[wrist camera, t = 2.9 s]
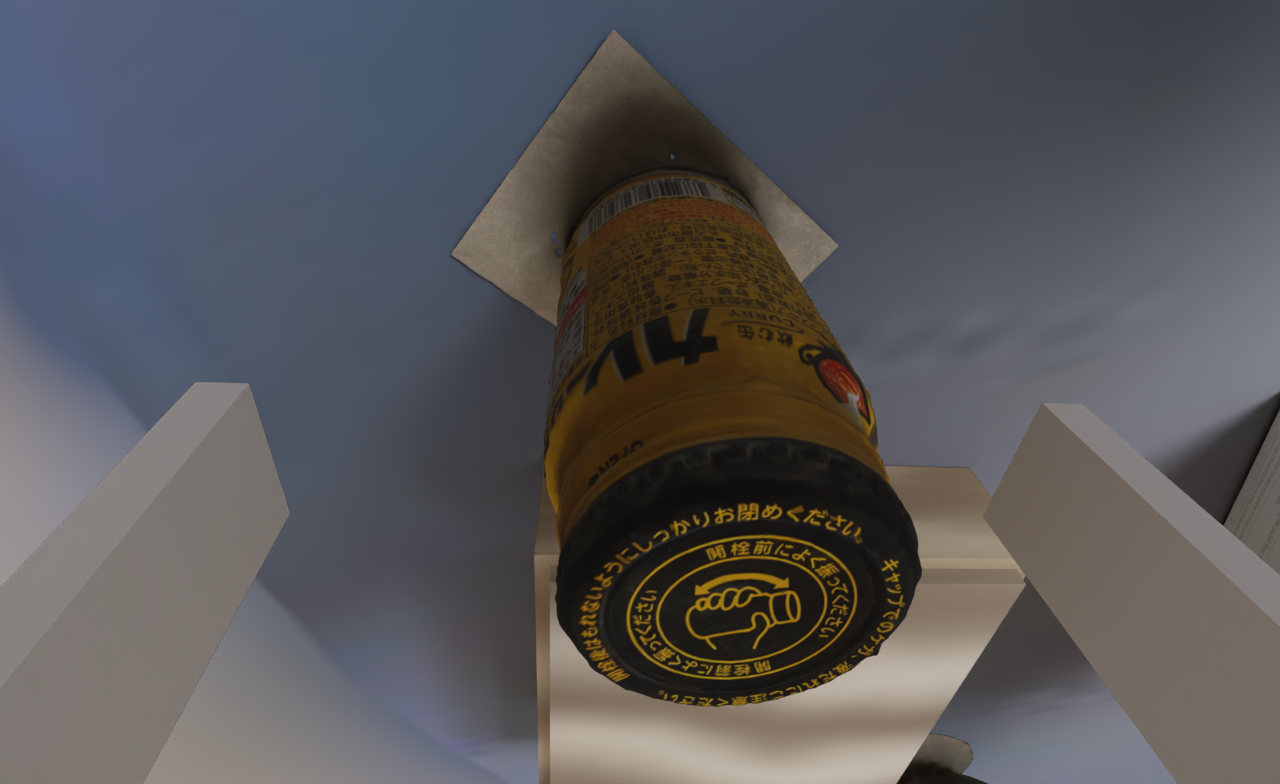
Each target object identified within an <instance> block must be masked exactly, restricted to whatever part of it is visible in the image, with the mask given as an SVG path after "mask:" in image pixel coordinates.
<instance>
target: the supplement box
mask: <svg viewBox="0 0 1280 784" xmlns="http://www.w3.org/2000/svg"><path fill="white" fill-rule="evenodd" d="M1224 527H1225V528H1226V529H1227V530H1228V531H1229V532H1231V533H1232V534H1233V535H1234V536H1235V537H1236V538H1238V539H1239V540H1240V541H1241V542H1242V543H1243V544H1244V545H1246V546H1247V547H1248V548H1249V549H1250V550H1251V551H1253V552H1254V553H1255V554H1256V555H1257V556H1258V557H1259V558H1261V559H1262V560H1263V561H1264V562H1265V563H1266V564H1268V565H1269V566H1270V567H1271V568H1272V569H1273V570H1274V571H1276V572H1277V573H1278V574H1279V575H1280V410H1279V412H1278V414H1277V416H1276V418H1275V420H1274V422H1273V424H1272V426H1271V428H1270V430H1269V433H1268V435H1267V437H1266V439H1265V441H1264V443H1263V445H1262V447H1261V449H1260V451H1259V453H1258V455H1257V457H1256V460H1255V462H1254V464H1253V466H1252V468H1251V470H1250V472H1249V474H1248V476H1247V478H1246V480H1245V482H1244V485H1243V487H1242V489H1241V491H1240V493H1239V495H1238V497H1237V498H1236V500H1235V502H1234V505H1233V507H1232V509H1231V511H1230V513H1229V516H1228V518H1227V520H1226V522H1225V524H1224Z"/></svg>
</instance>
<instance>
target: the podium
mask: <svg viewBox="0 0 1280 784" xmlns="http://www.w3.org/2000/svg"><path fill="white" fill-rule="evenodd" d="M884 467H885V470H886V472H887V474H888V476H889V479H890V484H891V486H892V488H893V489H894V490H895V492H896V493H897V495H898V498H899V499H900V500H901V501H902V503H903V505H904V507H905V509H906V510H907V512H908V513H909V515H910V517H911V518H912V521H913V525H914V527H915V530H916V533H917V537H918V555H919V559H920V563H921V567H922V576H921V579H920V580H919V582H918V584H917V586H916V589H915V594H914V598H913V600H912V603H911V605H910V608H909V610H908V612H907V616H906V618H905V619H904V620H903V622H902V623H901V624H900V625H899V627H898V628H897V629H896V630H895V631H894V632H893V633H892V634H891V635H890V637H889V638H888V639H887V640H885V641H884V642H883V643H882V645H881V648H880V651H879V653H878V655H877V656H871V657H868V658H866V659H864V660H863V661H861V662H860V663H859V664H858V665H857V666H856V667H855V668H853V669H852V670H851V671H849V672H847V673H844V674H843V675H840V676H838V677H836V678H835V679H834V680H832V681H830V682H828V683H826V684H823V685H820V686H819V687H817V688H814V689H808V690H806V691H804V692H801V693H797V694H793V695H790V696H786V697H783V698H780V699H777V700H774V701H766V702H762V703H758V704H752V703H748V704H746V705H740V706H733V705H725V706H720V707H714V706H707V707H703V706H694V705H686V704H677V703H674V702H671V701H663V700H660V699H653V698H650V697H648V696H645V695H642V694H639V693H636V692H633V691H628V690H625V689H623V688H622V687H620V686H619V685H617V684H615V683H613V682H612V681H610V680H609V679H607V678H606V677H605V676H603V675H601V674H599V673H597V672H595V671H594V670H593V669H592V668H591V667H590V666H589V664H588V662H587V660H586V659H585V658H584V657H583V656H582V655H581V654H580V653H579V651H578V650H577V649H576V647H575V645H574V644H573V642H572V641H571V640H570V638H569V637H568V636H567V635H566V634H565V632H564V631H563V629H562V628H561V627H560V625H559V622H558V619H557V612H556V608H557V605H556V601H555V595H556V591H557V584H556V580H555V579H556V576H557V566H558V564H559V563H558V560H559V555H560V550H559V544H558V541H557V537H556V515H557V514H556V512H555V509H554V507H553V505H552V503H551V500H550V497H549V494H548V490H547V488H546V482H545V478H544V464H543V473H542V483H541V493H540V502H539V512H538V522H537V532H536V541H535V551H534V572H535V617H536V662H537V706H538V751H539V784H896V783H897V782H898V780H899V779H900V777H901V776H902V774H903V773H904V771H905V770H906V768H907V767H908V765H909V763H910V762H911V760H912V759H913V757H914V756H915V754H916V753H917V751H918V750H919V748H920V747H921V745H922V744H923V742H924V740H925V739H926V737H927V736H928V734H929V733H930V731H931V730H932V728H933V727H934V725H935V724H936V722H937V721H938V719H939V717H940V716H941V714H942V713H943V711H944V710H945V708H946V707H947V705H948V704H949V702H950V701H951V699H952V698H953V696H954V694H955V693H956V691H957V690H958V688H959V687H960V685H961V684H962V682H963V681H964V679H965V678H966V676H967V675H968V673H969V671H970V670H971V668H972V667H973V665H974V664H975V662H976V661H977V659H978V658H979V656H980V655H981V653H982V652H983V650H984V648H985V647H986V645H987V644H988V642H989V641H990V639H991V638H992V636H993V635H994V633H995V632H996V630H997V629H998V627H999V625H1000V624H1001V622H1002V621H1003V619H1004V618H1005V616H1006V615H1007V613H1008V612H1009V610H1010V609H1011V607H1012V606H1013V604H1014V602H1015V601H1016V599H1017V598H1018V596H1019V595H1020V593H1021V592H1022V590H1023V589H1024V587H1025V586H1026V583H1025V581H1024V578H1025V577H1026V575H1025V574H1024V573H1023V571H1022V570H1021V568H1020V567H1019V566H1018V564H1017V563H1016V562H1015V560H1014V559H1013V558H1012V556H1011V555H1010V553H1009V552H1008V551H1007V549H1006V548H1005V547H1004V545H1003V544H1002V542H1001V541H1000V540H999V538H998V537H997V536H996V534H995V533H994V532H993V530H992V529H991V527H990V526H989V525H988V523H987V522H986V521H985V519H984V518H983V515H984V513H985V511H986V509H987V507H988V505H989V503H990V501H991V500H992V497H991V496H990V495H989V493H988V492H987V491H986V489H985V488H984V486H983V485H982V484H981V482H980V481H979V480H978V478H977V477H976V476H975V474H974V473H973V472H972V470H971V469H970V468H953V467H909V466H884Z"/></svg>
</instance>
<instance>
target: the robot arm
mask: <svg viewBox="0 0 1280 784" xmlns="http://www.w3.org/2000/svg"><path fill="white" fill-rule="evenodd" d="M289 515H290V512H289V509H288V506H287V502H286V499H285V496H284V493H283V490H282V487H281V483H280V480H279V477H278V474H277V471H276V468H275V464H274V461H273V458H272V455H271V452H270V449H269V445H268V442H267V439H266V436H265V433H264V430H263V426H262V423H261V420H260V417H259V414H258V411H257V407H256V404H255V401H254V398H253V395H252V392H251V388H250V385H249V383H214V382H195V383H194V384H193V385H192V386H191V387H190V388H189V389H188V391H187V392H186V393H185V394H184V395H183V396H182V397H181V398H180V399H179V400H178V401H177V402H176V403H175V404H174V405H173V406H172V407H171V408H170V409H169V411H168V412H167V413H166V414H165V415H164V416H163V417H162V418H161V419H160V420H159V421H158V422H157V423H156V424H155V425H154V426H153V427H152V428H151V430H150V431H149V432H148V433H147V434H146V435H145V436H144V437H143V438H142V439H141V440H140V441H139V442H138V443H137V444H136V445H135V447H133V449H132V450H131V451H130V452H129V453H128V454H127V455H126V456H125V457H124V458H123V459H122V460H121V461H120V462H119V463H118V464H117V465H116V466H115V468H114V469H113V470H112V471H111V472H110V473H109V474H108V475H107V476H106V477H105V478H104V479H103V480H102V481H101V482H100V483H99V484H98V486H96V488H95V489H94V490H93V491H92V492H91V493H90V494H89V495H88V496H87V497H86V498H85V499H84V500H83V501H82V502H81V503H80V504H79V505H78V506H77V508H76V509H75V510H74V511H73V512H72V513H71V514H70V515H69V516H68V517H67V518H66V519H65V520H64V521H63V522H62V523H61V525H60V526H59V527H58V528H57V529H56V530H55V531H54V532H53V533H52V534H51V535H50V536H49V537H48V538H47V539H46V540H45V541H44V542H43V543H42V544H41V545H40V547H39V548H38V549H37V550H36V551H35V552H34V553H33V554H32V555H31V556H30V557H29V558H28V559H27V560H26V561H25V562H24V563H23V565H21V567H20V568H19V569H18V570H17V571H16V572H15V573H14V574H13V575H12V576H11V577H10V578H9V579H8V580H7V581H6V582H5V583H4V584H3V585H2V587H1V588H0V784H143V783H144V781H145V779H146V777H147V776H148V774H149V772H150V770H151V768H152V767H153V765H154V763H155V761H156V759H157V757H158V755H159V754H160V752H161V750H162V748H163V746H164V744H165V743H166V741H167V739H168V737H169V735H170V733H171V731H172V730H173V728H174V726H175V724H176V722H177V721H178V719H179V717H180V715H181V713H182V711H183V709H184V708H185V706H186V704H187V702H188V700H189V698H190V697H191V695H192V693H193V691H194V689H195V687H196V686H197V684H198V682H199V680H200V678H201V676H202V675H203V673H204V671H205V669H206V667H207V665H208V664H209V662H210V660H211V658H212V656H213V654H214V652H215V650H216V649H217V647H218V645H219V643H220V641H221V640H222V638H223V636H224V634H225V632H226V630H227V628H228V626H229V625H230V623H231V621H232V619H233V618H234V616H235V614H236V612H237V610H238V608H239V607H240V605H241V603H242V601H243V599H244V597H245V595H246V594H247V592H248V590H249V588H250V586H251V584H252V583H253V581H254V579H255V577H256V575H257V573H258V572H259V570H260V568H261V566H262V564H263V562H264V561H265V559H266V557H267V555H268V553H269V551H270V550H271V548H272V546H273V544H274V542H275V540H276V538H277V537H278V535H279V533H280V531H281V529H282V527H283V526H284V524H285V522H286V520H287V518H288V516H289ZM983 518H984V519H985V521H986V522H987V523H988V525H989V526H990V527H991V529H992V530H993V532H994V533H995V534H996V536H997V537H998V538H999V540H1000V541H1001V542H1002V544H1003V545H1004V547H1005V548H1006V549H1007V551H1008V552H1009V553H1010V555H1011V556H1012V558H1013V559H1014V560H1015V562H1016V563H1017V564H1018V566H1019V567H1020V568H1021V570H1022V571H1023V573H1024V574H1025V575H1026V577H1027V578H1028V579H1029V581H1030V582H1031V584H1032V585H1033V586H1034V588H1035V589H1036V590H1037V592H1038V593H1039V594H1040V596H1041V597H1042V599H1043V600H1044V601H1045V603H1046V604H1047V605H1048V607H1049V608H1050V609H1051V611H1052V612H1053V614H1054V615H1055V616H1056V618H1057V619H1058V620H1059V622H1060V623H1061V625H1062V626H1063V627H1064V629H1065V630H1066V631H1067V633H1068V634H1069V635H1070V637H1071V638H1072V640H1073V641H1074V642H1075V644H1076V645H1077V646H1078V648H1079V649H1080V651H1081V652H1082V653H1083V655H1084V656H1085V657H1086V659H1087V660H1088V661H1089V663H1090V664H1091V666H1092V667H1093V668H1094V670H1095V671H1096V672H1097V674H1098V675H1099V676H1100V678H1101V679H1102V681H1103V682H1104V683H1105V685H1106V686H1107V687H1108V689H1109V690H1110V692H1111V693H1112V694H1113V696H1114V697H1115V698H1116V700H1117V701H1118V702H1119V704H1120V705H1121V707H1122V708H1123V709H1124V711H1125V712H1126V713H1127V715H1128V716H1129V718H1130V719H1131V720H1132V722H1133V723H1134V724H1135V726H1136V727H1137V728H1138V730H1139V731H1140V733H1141V734H1142V735H1143V737H1144V738H1145V739H1146V741H1147V742H1148V744H1149V745H1150V746H1151V748H1152V749H1153V750H1154V752H1155V753H1156V754H1157V756H1158V757H1159V759H1160V760H1161V761H1162V763H1163V764H1164V765H1165V767H1166V768H1167V769H1168V771H1169V772H1170V774H1171V775H1172V776H1173V778H1174V779H1175V780H1176V782H1177V783H1178V784H1280V575H1279V574H1278V573H1277V572H1276V571H1274V570H1273V569H1272V568H1271V567H1270V566H1269V565H1268V564H1266V563H1265V562H1264V561H1263V560H1262V559H1261V558H1259V557H1258V556H1257V555H1256V554H1255V553H1254V552H1253V551H1251V550H1250V549H1249V548H1248V547H1247V546H1246V545H1244V544H1243V543H1242V542H1241V541H1240V540H1239V539H1238V538H1236V537H1235V536H1234V535H1233V534H1232V533H1231V532H1229V531H1228V530H1227V529H1226V528H1225V527H1224V526H1223V525H1221V524H1220V523H1219V522H1218V521H1217V520H1216V519H1214V518H1213V517H1212V516H1211V515H1210V514H1209V513H1208V512H1206V511H1205V510H1204V509H1203V508H1202V507H1201V506H1199V505H1198V504H1197V503H1196V502H1195V501H1194V500H1193V499H1191V498H1190V497H1189V496H1188V495H1187V494H1186V493H1184V492H1183V491H1182V490H1181V489H1180V488H1179V487H1178V486H1176V485H1175V484H1174V483H1173V482H1172V481H1171V480H1169V479H1168V478H1167V477H1166V476H1165V475H1164V474H1163V473H1161V472H1160V471H1159V470H1158V469H1157V468H1156V467H1155V466H1153V465H1152V464H1151V463H1150V462H1149V461H1148V460H1146V459H1145V458H1144V457H1143V456H1142V455H1141V454H1140V453H1138V452H1137V451H1136V450H1135V449H1134V448H1133V447H1131V446H1130V445H1129V444H1128V443H1127V442H1126V441H1125V440H1123V439H1122V438H1121V437H1120V436H1119V435H1118V434H1116V433H1115V432H1114V431H1113V430H1112V429H1111V428H1110V427H1108V426H1107V425H1106V424H1105V423H1104V422H1103V421H1101V420H1100V419H1099V418H1098V417H1097V416H1096V415H1095V414H1093V413H1092V412H1091V411H1090V410H1089V409H1088V408H1086V407H1085V406H1084V405H1083V404H1061V403H1042V404H1041V406H1040V408H1039V410H1038V412H1037V414H1036V416H1035V418H1034V420H1033V422H1032V424H1031V425H1030V427H1029V429H1028V431H1027V433H1026V435H1025V437H1024V439H1023V441H1022V443H1021V444H1020V446H1019V448H1018V450H1017V452H1016V454H1015V456H1014V458H1013V460H1012V462H1011V463H1010V465H1009V467H1008V469H1007V471H1006V473H1005V475H1004V477H1003V479H1002V481H1001V482H1000V484H999V486H998V488H997V490H996V492H995V494H994V496H993V498H992V500H991V501H990V503H989V505H988V507H987V509H986V511H985V513H984V515H983Z"/></svg>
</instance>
